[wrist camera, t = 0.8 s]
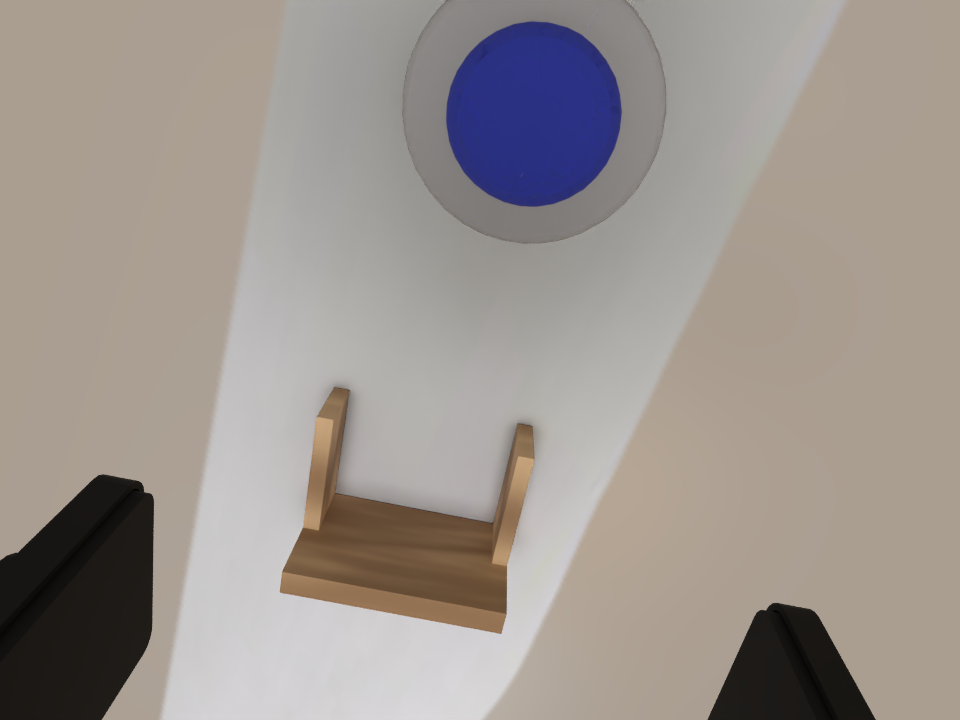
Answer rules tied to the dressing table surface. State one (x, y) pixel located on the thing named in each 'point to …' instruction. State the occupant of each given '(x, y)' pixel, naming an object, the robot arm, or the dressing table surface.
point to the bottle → (534, 113)
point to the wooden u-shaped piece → (404, 543)
